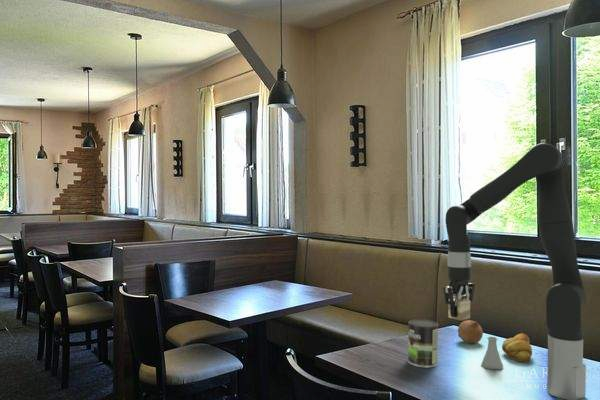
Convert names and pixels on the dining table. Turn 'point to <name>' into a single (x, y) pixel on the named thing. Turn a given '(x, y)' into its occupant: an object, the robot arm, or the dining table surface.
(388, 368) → the dining table surface
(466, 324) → the onion
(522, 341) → the bread roll
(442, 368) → the dining table surface
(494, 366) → the flask
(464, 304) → the maple block
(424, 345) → the coffee can
